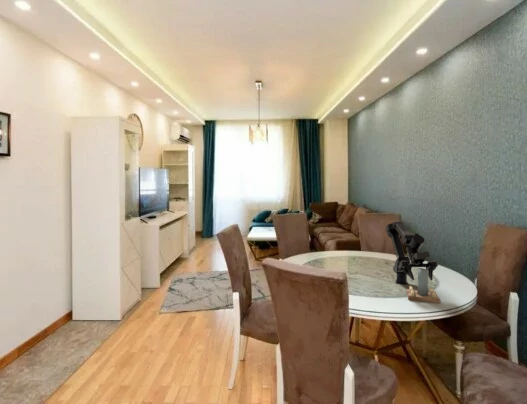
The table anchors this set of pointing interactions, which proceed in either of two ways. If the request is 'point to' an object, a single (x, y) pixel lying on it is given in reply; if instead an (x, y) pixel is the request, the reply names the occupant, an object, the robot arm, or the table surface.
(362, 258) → the table surface
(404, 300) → the table surface
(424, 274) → the spectacles tube
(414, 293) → the display plinth
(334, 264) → the table surface
